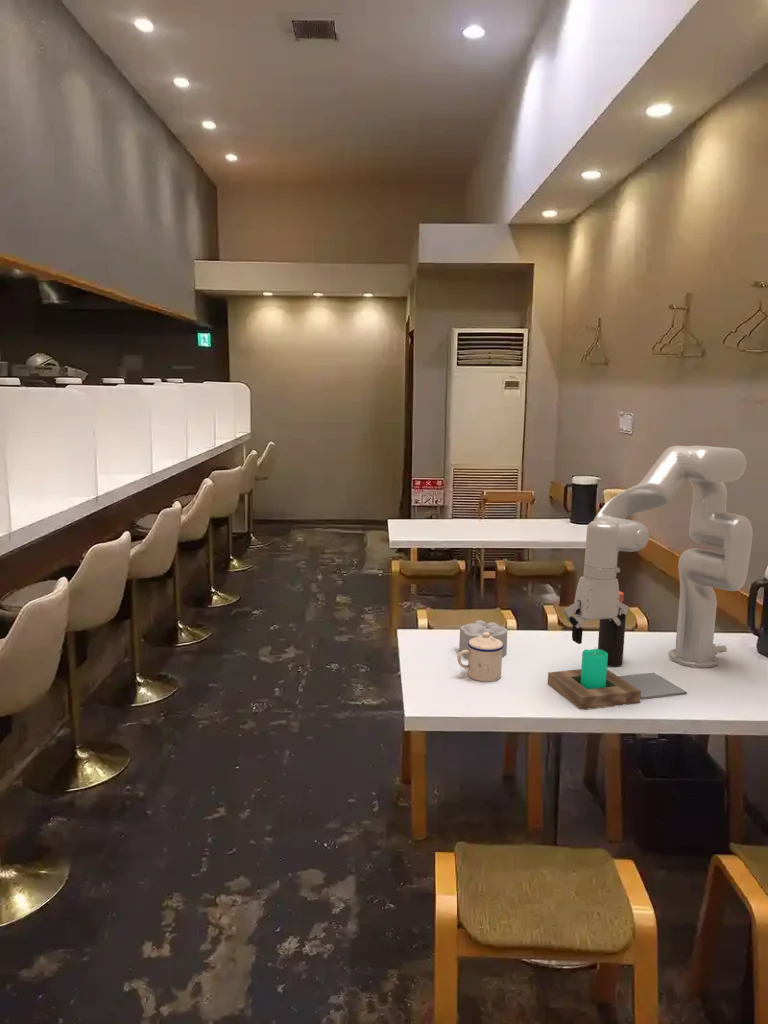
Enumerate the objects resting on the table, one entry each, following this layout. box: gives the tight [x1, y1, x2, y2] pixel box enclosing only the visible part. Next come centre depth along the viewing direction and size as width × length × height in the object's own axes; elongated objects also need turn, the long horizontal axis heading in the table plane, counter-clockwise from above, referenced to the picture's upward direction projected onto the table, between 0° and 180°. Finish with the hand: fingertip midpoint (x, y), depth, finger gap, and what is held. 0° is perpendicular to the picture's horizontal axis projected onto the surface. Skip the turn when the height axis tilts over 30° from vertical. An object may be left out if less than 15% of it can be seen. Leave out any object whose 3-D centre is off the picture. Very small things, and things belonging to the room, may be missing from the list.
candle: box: [580, 646, 608, 689], centre depth 179 cm, size 6×6×12 cm
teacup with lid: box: [456, 632, 503, 683], centre depth 189 cm, size 12×9×12 cm
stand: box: [547, 668, 641, 710], centre depth 180 cm, size 16×16×3 cm
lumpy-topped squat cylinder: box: [458, 619, 508, 660], centre depth 206 cm, size 10×13×9 cm
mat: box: [618, 672, 688, 700], centre depth 185 cm, size 13×13×1 cm
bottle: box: [597, 590, 627, 668], centre depth 199 cm, size 7×7×20 cm
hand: (594, 640), depth 178 cm, fingers open, 9 cm apart
